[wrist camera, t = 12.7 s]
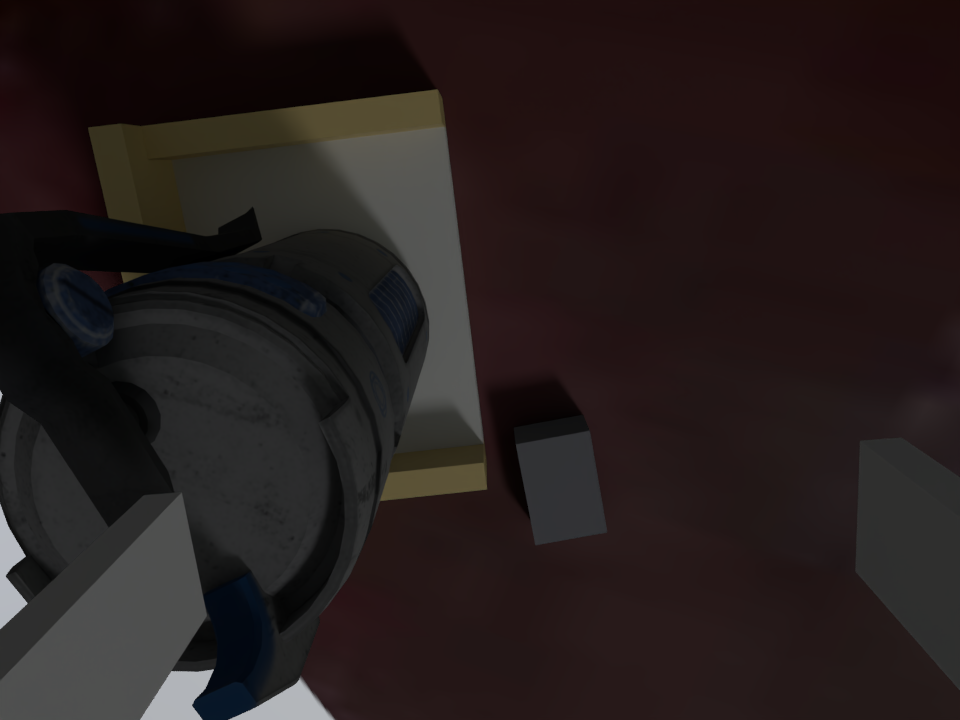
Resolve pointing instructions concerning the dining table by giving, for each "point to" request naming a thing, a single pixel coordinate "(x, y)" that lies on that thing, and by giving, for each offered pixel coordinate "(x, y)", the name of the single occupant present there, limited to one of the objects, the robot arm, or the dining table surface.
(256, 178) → the dock bay
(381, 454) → the beverage bottle
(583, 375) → the dining table surface
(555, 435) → the gray rectangular block
